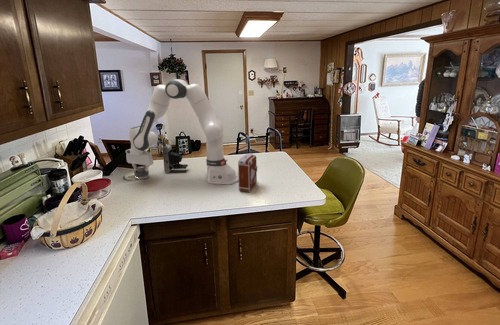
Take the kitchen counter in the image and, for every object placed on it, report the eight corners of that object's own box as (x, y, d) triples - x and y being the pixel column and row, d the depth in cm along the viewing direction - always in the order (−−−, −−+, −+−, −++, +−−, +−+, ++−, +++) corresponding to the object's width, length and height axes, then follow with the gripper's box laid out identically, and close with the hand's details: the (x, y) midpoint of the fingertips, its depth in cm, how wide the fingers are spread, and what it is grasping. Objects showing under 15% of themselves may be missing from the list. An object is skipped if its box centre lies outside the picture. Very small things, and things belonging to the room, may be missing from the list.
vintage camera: (185, 174, 203) (184, 146, 198) (164, 173, 203) (162, 146, 198) (188, 170, 213) (187, 143, 207) (168, 169, 213) (166, 143, 207)
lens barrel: (152, 175, 199) (151, 169, 198) (142, 180, 191) (141, 173, 190) (141, 174, 203) (140, 168, 201) (132, 178, 195) (131, 172, 193)
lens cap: (147, 173, 198) (146, 166, 196) (142, 176, 193) (141, 168, 192) (141, 172, 200) (140, 165, 198) (136, 175, 195) (135, 168, 194)
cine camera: (261, 182, 185) (260, 152, 179) (251, 193, 167) (250, 160, 161) (247, 180, 187) (247, 151, 182) (236, 191, 170) (235, 159, 164)
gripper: (154, 150, 190) (156, 170, 194) (130, 148, 198) (133, 167, 202) (147, 153, 185) (150, 173, 189) (123, 150, 192) (126, 170, 196)
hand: (141, 170), depth 195 cm, fingers open, 8 cm apart
